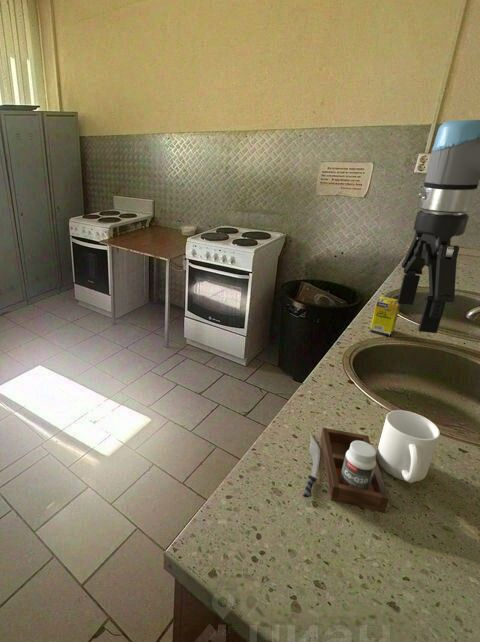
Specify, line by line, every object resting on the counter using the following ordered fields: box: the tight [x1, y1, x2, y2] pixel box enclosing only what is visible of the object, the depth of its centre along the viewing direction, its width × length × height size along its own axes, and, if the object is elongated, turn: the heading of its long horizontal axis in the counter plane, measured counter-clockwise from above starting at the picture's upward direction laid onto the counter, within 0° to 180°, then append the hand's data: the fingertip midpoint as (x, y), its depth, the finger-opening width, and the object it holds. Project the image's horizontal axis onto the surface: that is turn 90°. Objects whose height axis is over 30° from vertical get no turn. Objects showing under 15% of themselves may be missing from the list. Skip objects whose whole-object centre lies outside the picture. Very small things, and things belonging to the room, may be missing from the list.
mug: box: [376, 409, 441, 484], centre depth 74 cm, size 12×8×10 cm
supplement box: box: [369, 295, 401, 336], centre depth 128 cm, size 6×6×11 cm
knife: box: [301, 432, 321, 498], centre depth 79 cm, size 19×2×1 cm, turn 152°
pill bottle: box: [340, 441, 377, 490], centre depth 71 cm, size 5×5×8 cm
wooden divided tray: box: [319, 427, 390, 514], centre depth 76 cm, size 8×16×3 cm, turn 161°
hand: (415, 316), depth 80 cm, fingers open, 13 cm apart
